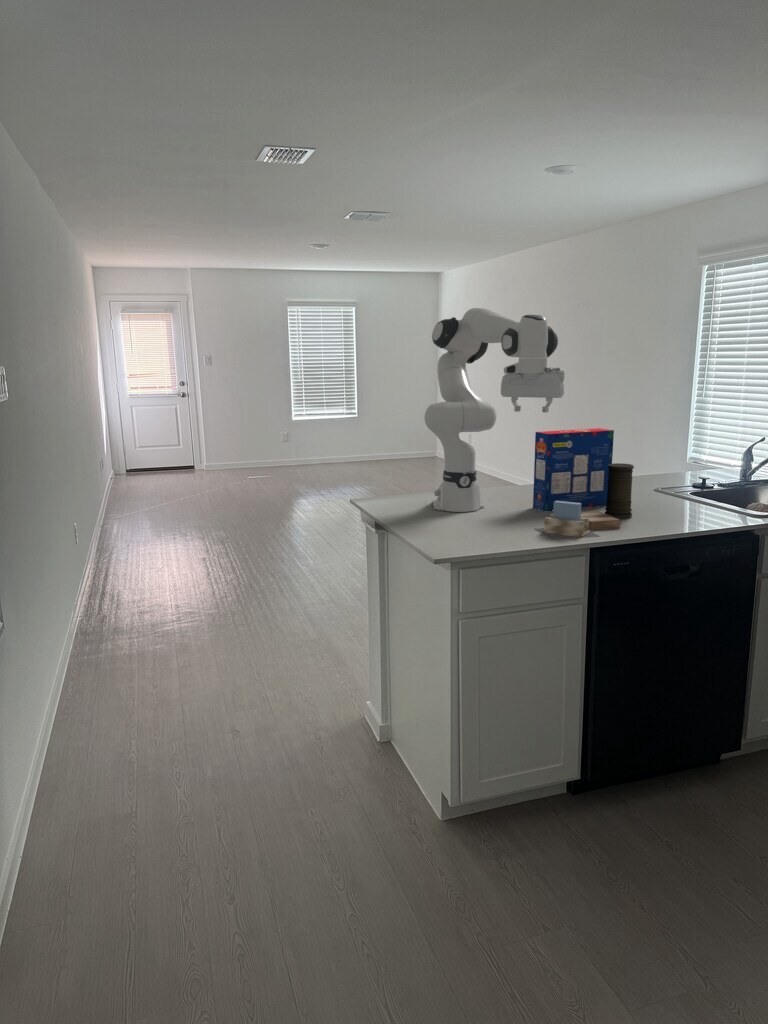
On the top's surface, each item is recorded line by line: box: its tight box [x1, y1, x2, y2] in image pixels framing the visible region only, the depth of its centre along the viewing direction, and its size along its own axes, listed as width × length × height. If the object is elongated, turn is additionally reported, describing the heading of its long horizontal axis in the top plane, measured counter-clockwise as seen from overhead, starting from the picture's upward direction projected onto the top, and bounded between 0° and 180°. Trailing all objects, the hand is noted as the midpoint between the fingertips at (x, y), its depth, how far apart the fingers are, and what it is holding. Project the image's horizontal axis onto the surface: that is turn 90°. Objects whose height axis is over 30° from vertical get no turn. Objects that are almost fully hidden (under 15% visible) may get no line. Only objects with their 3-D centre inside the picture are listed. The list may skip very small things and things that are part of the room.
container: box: [604, 462, 635, 520], centre depth 242 cm, size 9×9×18 cm
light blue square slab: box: [552, 501, 582, 521], centre depth 220 cm, size 8×2×9 cm, turn 57°
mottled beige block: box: [542, 513, 591, 538], centre depth 221 cm, size 13×7×5 cm, turn 57°
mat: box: [533, 527, 600, 541], centre depth 221 cm, size 14×16×1 cm
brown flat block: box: [581, 510, 621, 531], centre depth 232 cm, size 14×10×3 cm
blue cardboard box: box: [532, 427, 615, 512], centre depth 258 cm, size 28×8×28 cm, turn 111°
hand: (531, 411), depth 226 cm, fingers open, 8 cm apart
